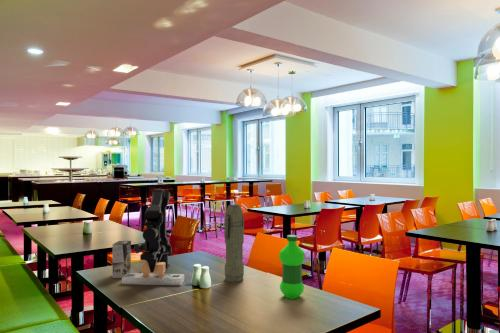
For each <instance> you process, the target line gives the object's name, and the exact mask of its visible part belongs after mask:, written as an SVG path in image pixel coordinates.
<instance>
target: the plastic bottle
mask: <svg viewBox="0 0 500 333" xmlns="http://www.w3.org/2000/svg"><path fill="white" fill-rule="evenodd" d="M286 241H287V244H286V245H285V246H284V247H283V248H282V249H281V250H279V254H278V257H279V261H280V263H281V266H282V269H281V270H282V273H281V275H282V276H281V279H282V280H281V282H280V285H279V290H280V292H281V293H282V294H283V295H284V297H285V298H286V297H287V299H289V298H290V300H294V299H298V298H299V297H300V296H301V295H302V294H303V293H304V290H305V286H304V285H305V284H304V283H303V274H302V273H303V264H304V262H305V258H306V253H305V251H304V250H303V249H302V248H301V247H300V246H299V245H297V241H298V235H295V234H287V235H286Z"/></svg>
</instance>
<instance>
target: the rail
mask: <svg viewBox="0 0 500 333" xmlns="http://www.w3.org/2000/svg"><path fill="white" fill-rule="evenodd" d="M184 282H185V274H184V273H164V277H158V273H149V276H148V277H143V273H140V272H131V273H127V274H125V275H124V276H123V277H122V278H121V285H146V286H147V285H151V286H157V285H158V286H159V285H160V286H182V285H183V283H184Z"/></svg>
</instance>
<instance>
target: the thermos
mask: <svg viewBox="0 0 500 333" xmlns="http://www.w3.org/2000/svg"><path fill="white" fill-rule="evenodd" d="M225 213H226V214H225V217H224V220H223V221H224V223H223V224H224V228H223V229H224V230H223V234H224V244H225V263H224V281H225V282H227V283H231V282H232V284H233V283H236V282H237V283H241V282H243V281H244V275H245V274H244V269H245V266H244V263H243V259H244V258H243V256H244V255H243V253H244V252H243V249H244V248H243V247H244V245H243V244H244V240H245V238H244V237H245V236H244V235H245V217H244V214H243V209H242V206H241V205H239V204H229V205H227V208H226V211H225Z"/></svg>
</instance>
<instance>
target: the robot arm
mask: <svg viewBox="0 0 500 333" xmlns="http://www.w3.org/2000/svg"><path fill="white" fill-rule="evenodd" d="M151 197H152V198H151V199H152V200H151V203H150V206H148V207H147V208H146V210H145V211H144V214H143V222H142V226H143V227H144V226H145V227H146V228H145V229H144V230H143V231H142V238H143V240H144V242H142V243H136V244H134V246H133V251H134V252H135V253H136V254H139V253H140V252H142V253H141V254H140V257H139V258H140V261H145V262H148V265H149V268H150V271H151V272H153V271H154V269H155V266H156V263H157V262H166V269H167V268H168V267H170V265H171V264H170V263H169V256H171V255H172V254H173V250H172V246H171V243H170V239H169V238H168V236H167V206H168V205H169V204H170V201H171V193H170V191H168V190H165V189H160V188H159V189H154V190H153V191H152V196H151Z"/></svg>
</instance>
